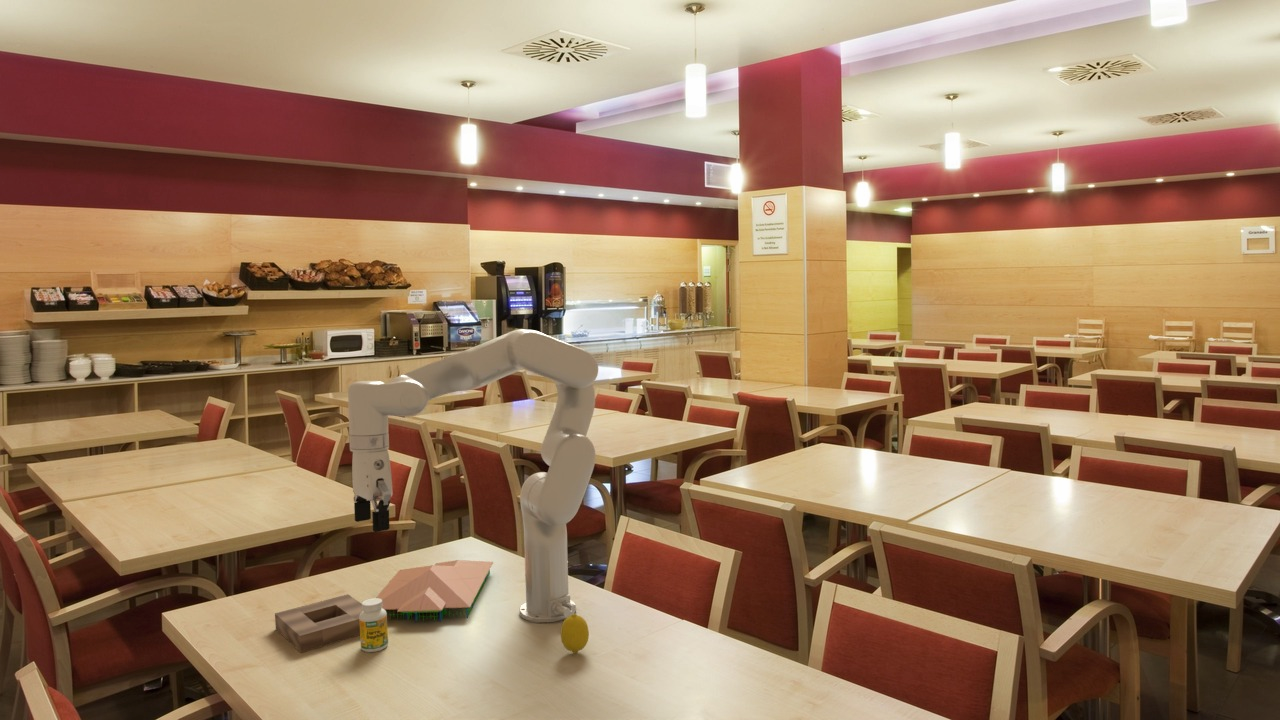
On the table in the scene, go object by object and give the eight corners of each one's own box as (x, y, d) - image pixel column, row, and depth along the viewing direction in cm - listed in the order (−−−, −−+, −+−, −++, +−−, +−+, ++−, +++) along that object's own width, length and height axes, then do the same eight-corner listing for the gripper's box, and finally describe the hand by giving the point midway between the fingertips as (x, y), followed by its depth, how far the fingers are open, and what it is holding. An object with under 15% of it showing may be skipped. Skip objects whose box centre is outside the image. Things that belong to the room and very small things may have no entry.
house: (362, 629, 173) (360, 592, 172) (405, 576, 206) (403, 545, 205) (468, 626, 173) (466, 590, 173) (493, 574, 206) (492, 543, 206)
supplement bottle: (384, 639, 166) (382, 594, 166) (391, 648, 162) (389, 602, 161) (357, 645, 164) (355, 600, 163) (364, 655, 159) (362, 608, 158)
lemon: (593, 649, 160) (592, 610, 159) (582, 661, 154) (581, 621, 154) (568, 645, 161) (567, 607, 161) (556, 657, 156) (555, 618, 156)
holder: (377, 629, 171) (376, 613, 171) (300, 652, 161) (299, 635, 161) (348, 609, 183) (347, 594, 183) (275, 629, 173) (274, 613, 173)
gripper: (404, 445, 156) (407, 531, 158) (371, 434, 170) (373, 513, 171) (367, 450, 152) (369, 538, 153) (335, 438, 165) (338, 519, 166)
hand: (371, 525), depth 162 cm, fingers open, 9 cm apart
